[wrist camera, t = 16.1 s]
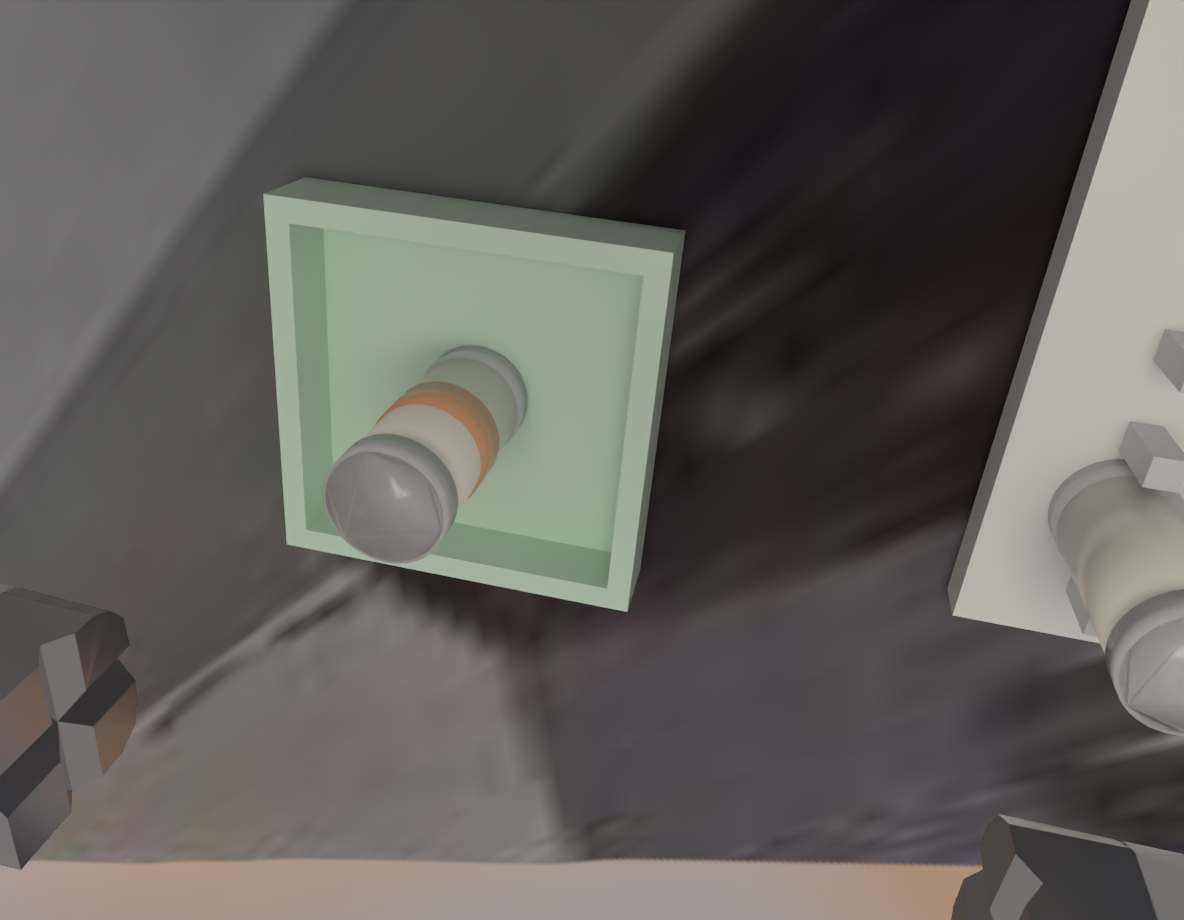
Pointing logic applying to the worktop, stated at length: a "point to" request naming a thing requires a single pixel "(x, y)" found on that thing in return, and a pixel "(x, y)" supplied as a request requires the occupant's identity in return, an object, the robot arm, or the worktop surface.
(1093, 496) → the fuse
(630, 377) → the tray
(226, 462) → the worktop surface
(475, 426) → the fuse marked
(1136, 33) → the holder
